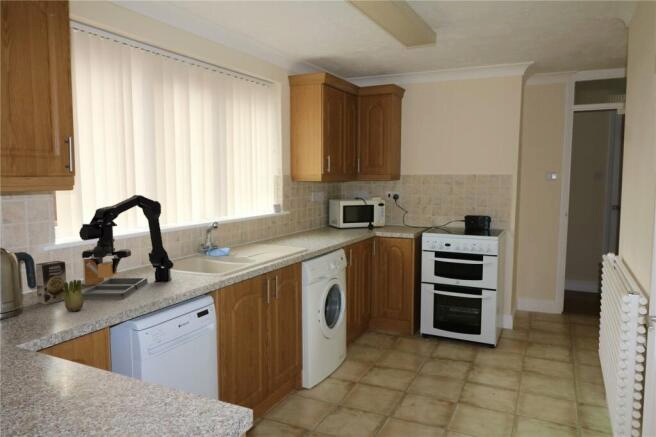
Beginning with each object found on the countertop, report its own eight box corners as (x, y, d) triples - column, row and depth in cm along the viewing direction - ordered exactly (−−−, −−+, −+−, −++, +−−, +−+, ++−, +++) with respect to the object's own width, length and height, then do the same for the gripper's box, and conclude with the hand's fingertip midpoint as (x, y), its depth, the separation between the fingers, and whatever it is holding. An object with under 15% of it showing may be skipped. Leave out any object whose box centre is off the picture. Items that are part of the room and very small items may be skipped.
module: (117, 273, 207) (116, 260, 207) (110, 277, 200) (109, 264, 200) (105, 273, 207) (104, 260, 207) (98, 277, 200) (97, 264, 200)
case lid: (136, 290, 213) (136, 284, 213) (123, 299, 198) (122, 293, 198) (96, 290, 212) (95, 284, 212) (79, 299, 197) (79, 293, 197)
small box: (85, 286, 220) (83, 258, 219) (83, 283, 226) (82, 256, 224) (104, 283, 225) (102, 256, 223) (102, 281, 230) (100, 254, 229)
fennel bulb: (64, 313, 179) (62, 281, 177) (68, 309, 183) (66, 279, 182) (81, 312, 180) (79, 281, 179) (84, 308, 185) (83, 278, 183)
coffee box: (45, 304, 190) (42, 265, 188) (37, 302, 193) (34, 263, 191) (67, 299, 197) (65, 261, 196) (59, 297, 201) (57, 260, 199)
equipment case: (147, 282, 227) (147, 277, 226) (136, 290, 213) (136, 284, 213) (109, 283, 226) (109, 277, 226) (96, 290, 212) (95, 284, 212)
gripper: (74, 240, 194) (76, 277, 195) (120, 240, 194) (122, 277, 196) (87, 236, 205) (89, 271, 207) (130, 236, 205) (132, 271, 207)
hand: (107, 273), depth 204 cm, fingers closed on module, 5 cm apart
